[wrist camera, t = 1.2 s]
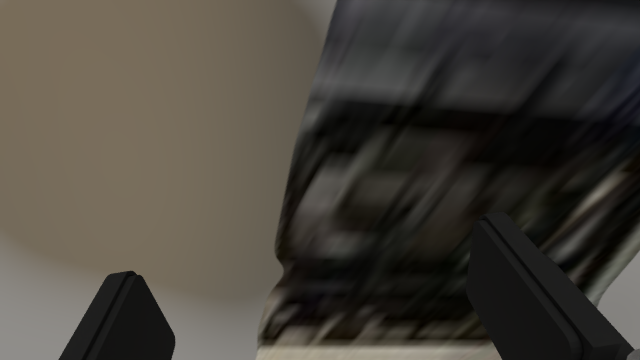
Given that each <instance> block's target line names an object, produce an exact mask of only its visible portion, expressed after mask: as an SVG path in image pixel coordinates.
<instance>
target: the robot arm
mask: <svg viewBox="0 0 640 360" xmlns="http://www.w3.org/2000/svg"><path fill="white" fill-rule="evenodd" d="M466 291H467V295H468V298H469V300H470V302H471V304H472V306H473V308H474V309H475V311H476V313H477V315H478V317H479V318H480V320H481V322H482V324H483V326H484V327H485V329H486V331H487V333H488V334H489V336H490V338H491V340H492V342H493V343H494V345H495V347H496V349H497V351H498V352H499V354H500V356H501V358H502V360H640V349H637V350H634V349H633V347H632V346H631V345H630V344H629V343H628V342H627V341H626V340H625V339H624V338H623V337H622V336H621V334H620V333H619V332H618V331H617V330H616V329H615V328H614V327H613V326H612V325H611V323H609V321H608V320H607V319H606V318H605V317H604V316H603V315H602V314H601V313H600V312H599V311H598V309H597V308H596V307H595V306H594V305H593V304H592V303H591V302H590V301H589V300H588V298H587V297H586V296H585V295H584V294H583V293H582V292H581V291H580V290H579V289H578V288H577V286H576V285H575V284H574V283H573V282H572V281H571V280H570V279H569V278H568V277H567V276H566V275H565V273H564V272H563V271H562V270H561V269H560V268H559V267H558V266H557V265H556V264H555V263H554V261H552V260H551V259H550V258H549V257H547V256H545V255H543V254H542V253H541V252H540V251H539V249H538V248H537V247H536V246H535V245H534V244H533V243H532V242H531V241H530V239H529V238H528V237H527V236H526V235H525V234H524V233H523V232H522V231H521V230H520V228H519V227H518V226H517V225H516V224H515V223H514V222H513V221H512V220H511V218H510V217H509V216H508V215H507V214H506V213H504V212H498V213H491V214H485V215H481V216H480V218H479V221H476V222H475V223H474V226H473V235H472V243H471V251H470V260H469V268H468V277H467V285H466ZM174 348H175V336H174V333H173V331H172V329H171V328H170V326H169V324H168V322H167V321H166V318H165V317H164V315H163V313H162V311H161V309H160V308H159V306H158V304H157V302H156V300H155V299H154V297H153V295H152V293H151V291H150V289H149V288H148V286H147V284H146V282H145V280H144V279H143V277H142V276H141V275H137V274H136V273H135V272H134V271H126V272H120V273H114V274H110V275H108V276H107V277H106V279H105V280H104V282H103V284H102V286H101V287H100V289H99V291H98V293H97V294H96V296H95V298H94V299H93V301H92V303H91V304H90V306H89V308H88V310H87V312H86V313H85V315H84V317H83V318H82V320H81V322H80V324H79V325H78V327H77V329H76V330H75V332H74V334H73V336H72V337H71V339H70V341H69V343H68V344H67V346H66V348H65V349H64V351H63V353H62V355H61V356H60V358H59V360H171V358H172V355H173V352H174Z"/></svg>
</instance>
